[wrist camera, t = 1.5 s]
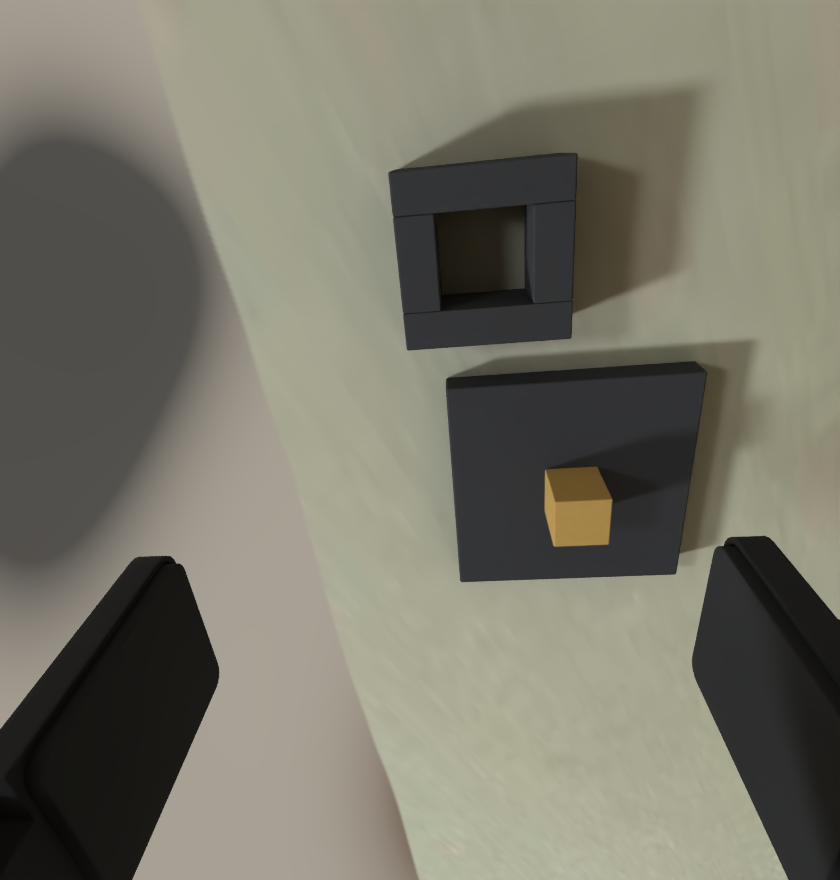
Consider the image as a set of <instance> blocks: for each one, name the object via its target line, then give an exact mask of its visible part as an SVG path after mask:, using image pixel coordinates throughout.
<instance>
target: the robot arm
mask: <svg viewBox="0 0 840 880" xmlns="http://www.w3.org/2000/svg"><path fill="white" fill-rule="evenodd" d="M692 667H693V672H694V676H695V679H696V681H697V684H698V686H699V688H700V690H701V692H702V694H703V696H704V699H705V701H706V703H707V705H708V707H709V709H710V712H711V714H712V716H713V718H714V720H715V722H716V724H717V727H718V729H719V731H720V733H721V735H722V737H723V740H724V742H725V744H726V746H727V748H728V750H729V752H730V755H731V757H732V759H733V761H734V763H735V765H736V768H737V770H738V772H739V774H740V776H741V778H742V780H743V783H744V785H745V787H746V789H747V791H748V793H749V795H750V798H751V800H752V802H753V804H754V806H755V808H756V811H757V813H758V815H759V817H760V819H761V821H762V823H763V826H764V828H765V830H766V832H767V834H768V836H769V839H770V841H771V843H772V845H773V847H774V849H775V851H776V854H777V856H778V858H779V860H780V862H781V864H782V866H783V869H784V871H785V873H786V875H787V877H788V879H789V880H840V620H839V619H837V618H836V616H835V615H834V614H833V613H832V612H831V610H830V609H829V608H828V607H827V606H826V604H825V603H824V602H823V601H822V600H821V598H820V597H819V596H818V595H817V594H816V592H815V591H814V590H813V589H812V588H811V586H810V585H809V584H808V583H807V581H806V580H805V579H804V578H803V577H802V575H801V574H800V573H799V572H798V571H797V569H796V568H795V567H794V566H793V565H792V563H791V562H790V561H789V560H788V559H787V557H786V556H785V555H784V554H783V553H782V551H781V550H780V549H779V548H778V547H777V545H776V544H775V543H774V542H773V541H772V540H771V539H770V538H769V537H766V536H751V537H730V538H728V539H727V540H726V541H725V544H724V546H719V547H717V548H716V549H715V551H714V554H713V559H712V564H711V569H710V574H709V578H708V583H707V588H706V593H705V598H704V603H703V608H702V613H701V617H700V622H699V627H698V632H697V637H696V642H695V647H694V652H693V657H692ZM218 679H219V666H218V663H217V660H216V657H215V654H214V651H213V648H212V646H211V643H210V640H209V637H208V634H207V631H206V629H205V626H204V623H203V620H202V617H201V615H200V612H199V609H198V606H197V603H196V600H195V597H194V595H193V592H192V589H191V586H190V583H189V580H188V578H187V575H186V572H185V569H184V567H183V566H182V565H181V564H176V562H175V560H174V559H173V558H172V557H170V556H149V557H137V558H135V559H134V560H133V561H132V562H131V563H130V564H129V565H128V566H127V568H126V569H125V570H124V572H123V573H122V574H121V575H120V577H119V578H118V579H117V580H116V582H115V583H114V584H113V586H112V587H111V588H110V590H109V591H108V592H107V594H106V595H105V596H104V597H103V598H102V600H101V601H100V602H99V604H98V605H97V606H96V608H95V609H94V610H93V611H92V613H91V614H90V615H89V616H88V618H87V619H86V620H85V622H84V623H83V624H82V625H81V627H80V628H79V629H78V630H77V632H76V633H75V634H74V636H73V637H72V638H71V639H70V641H69V642H68V643H67V645H66V646H65V647H64V648H63V650H62V651H61V652H60V654H59V655H58V656H57V657H56V659H55V660H54V661H53V663H52V664H51V665H50V666H49V668H48V669H47V670H46V672H45V673H44V674H43V675H42V677H41V678H40V679H39V680H38V682H37V683H36V684H35V686H34V687H33V688H32V689H31V691H30V692H29V693H28V695H27V696H26V697H25V698H24V700H23V701H22V702H21V704H20V705H19V706H18V708H17V709H16V710H15V711H14V712H13V714H12V715H11V717H10V718H9V719H8V720H7V721H6V723H5V724H4V725H3V727H2V728H1V729H0V880H132V879H133V877H134V874H135V872H136V870H137V867H138V865H139V863H140V860H141V858H142V856H143V854H144V851H145V849H146V847H147V845H148V842H149V840H150V838H151V835H152V833H153V831H154V829H155V826H156V824H157V822H158V819H159V817H160V815H161V813H162V810H163V808H164V806H165V803H166V801H167V799H168V797H169V794H170V792H171V790H172V787H173V785H174V783H175V781H176V778H177V776H178V774H179V771H180V769H181V767H182V764H183V762H184V760H185V758H186V756H187V753H188V751H189V748H190V746H191V744H192V742H193V739H194V737H195V735H196V733H197V730H198V728H199V726H200V724H201V721H202V719H203V717H204V714H205V712H206V710H207V708H208V705H209V703H210V701H211V698H212V696H213V694H214V692H215V689H216V687H217V684H218Z"/></svg>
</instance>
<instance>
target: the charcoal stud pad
mask: <svg viewBox="0 0 840 880" xmlns="http://www.w3.org/2000/svg"><path fill="white" fill-rule="evenodd" d="M706 377H707V371H706V370H704V369H703V368H702V367H701V366H700V365H698V364H697V363H696V362H679V363H664V364H649V365H635V366H620V367H605V368H590V369H576V370H561V371H546V372H531V373H517V374H502V375H487V376H472V377H458V378H447V379H446V397H447V410H448V423H449V437H450V450H451V463H452V477H453V490H454V503H455V517H456V530H457V543H458V557H459V570H460V581H461V582H477V581H504V580H532V579H560V578H587V577H615V576H643V575H670V574H676V571H677V564H678V558H679V551H680V545H681V538H682V532H683V525H684V519H685V513H686V506H687V500H688V493H689V487H690V480H691V474H692V467H693V461H694V454H695V448H696V442H697V435H698V429H699V422H700V416H701V409H702V403H703V396H704V390H705V384H706Z"/></svg>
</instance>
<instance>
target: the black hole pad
mask: <svg viewBox="0 0 840 880" xmlns="http://www.w3.org/2000/svg"><path fill="white" fill-rule="evenodd" d="M577 160H578V155H577V153H555V154H546V155H536V156H526V157H516V158H506V159H496V160H486V161H476V162H466V163H456V164H446V165H436V166H427V167H417V168H407V169H397V170H394V171H390V172H389V174H388V175H389V184H390V194H391V203H392V213H393V217H394V218H393V222H394V232H395V241H396V251H397V260H398V269H399V279H400V288H401V298H402V307H403V313H404V315H403V317H404V327H405V336H406V345H407V350H420V349H434V348H448V347H462V346H475V345H489V344H503V343H517V342H530V341H544V340H558V339H570V338H571V335H572V307H573V302H572V299H573V274H574V246H575V217H576V201H575V199H576V188H577ZM519 205H525V288H524V289H512V290H499V291H487V292H475V293H462V294H450V295H442V287H441V273H440V259H439V246H438V232H437V218H436V213H444V212H454V211H465V210H476V209H487V208H497V207H508V206H519Z"/></svg>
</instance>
